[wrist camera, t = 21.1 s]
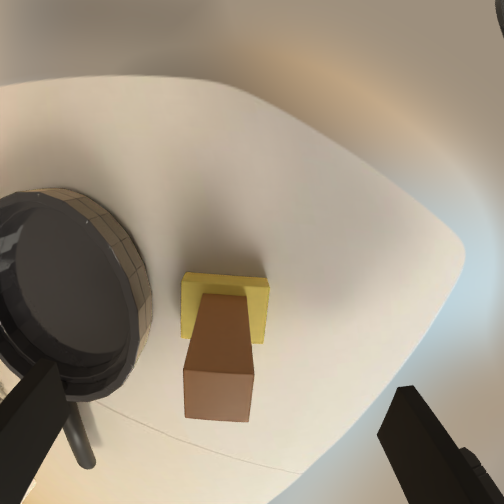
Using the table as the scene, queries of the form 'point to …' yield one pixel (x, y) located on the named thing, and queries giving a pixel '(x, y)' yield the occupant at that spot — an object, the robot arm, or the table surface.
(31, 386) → the robot arm
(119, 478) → the table surface
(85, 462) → the pan handle
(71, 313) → the frying pan
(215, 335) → the yellow block with handle
